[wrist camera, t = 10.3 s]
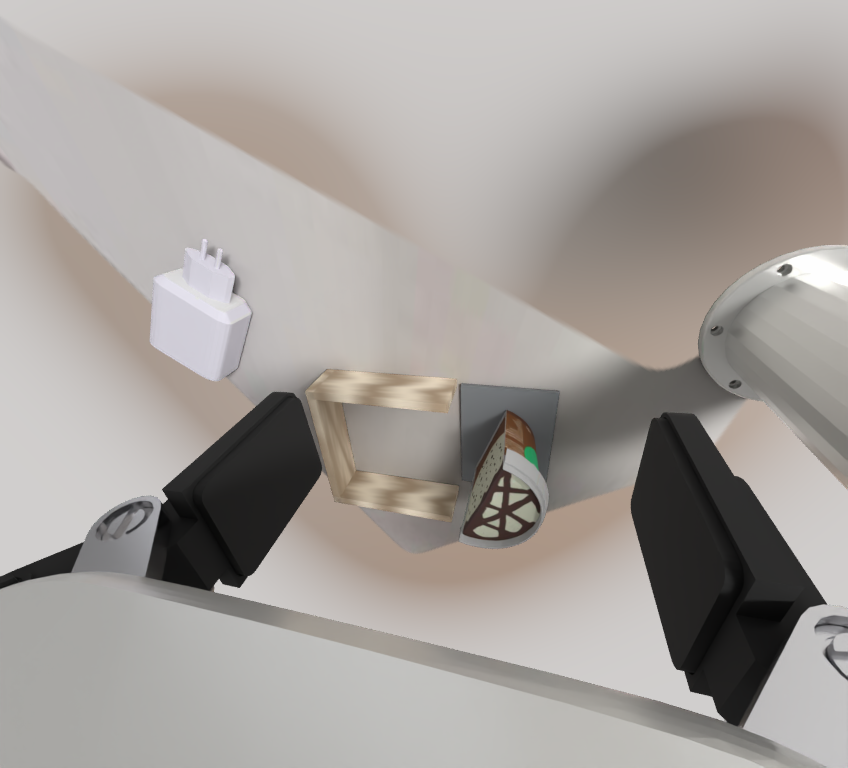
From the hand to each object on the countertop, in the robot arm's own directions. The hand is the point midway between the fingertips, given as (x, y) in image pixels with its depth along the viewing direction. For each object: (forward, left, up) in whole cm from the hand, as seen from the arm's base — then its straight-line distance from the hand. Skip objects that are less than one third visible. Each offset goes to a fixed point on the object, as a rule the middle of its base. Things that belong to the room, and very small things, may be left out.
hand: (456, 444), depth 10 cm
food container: (-2, +22, -26) cm, 34 cm away
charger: (+33, +5, -26) cm, 42 cm away
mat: (-1, +21, -26) cm, 33 cm away
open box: (+13, +22, -26) cm, 36 cm away
